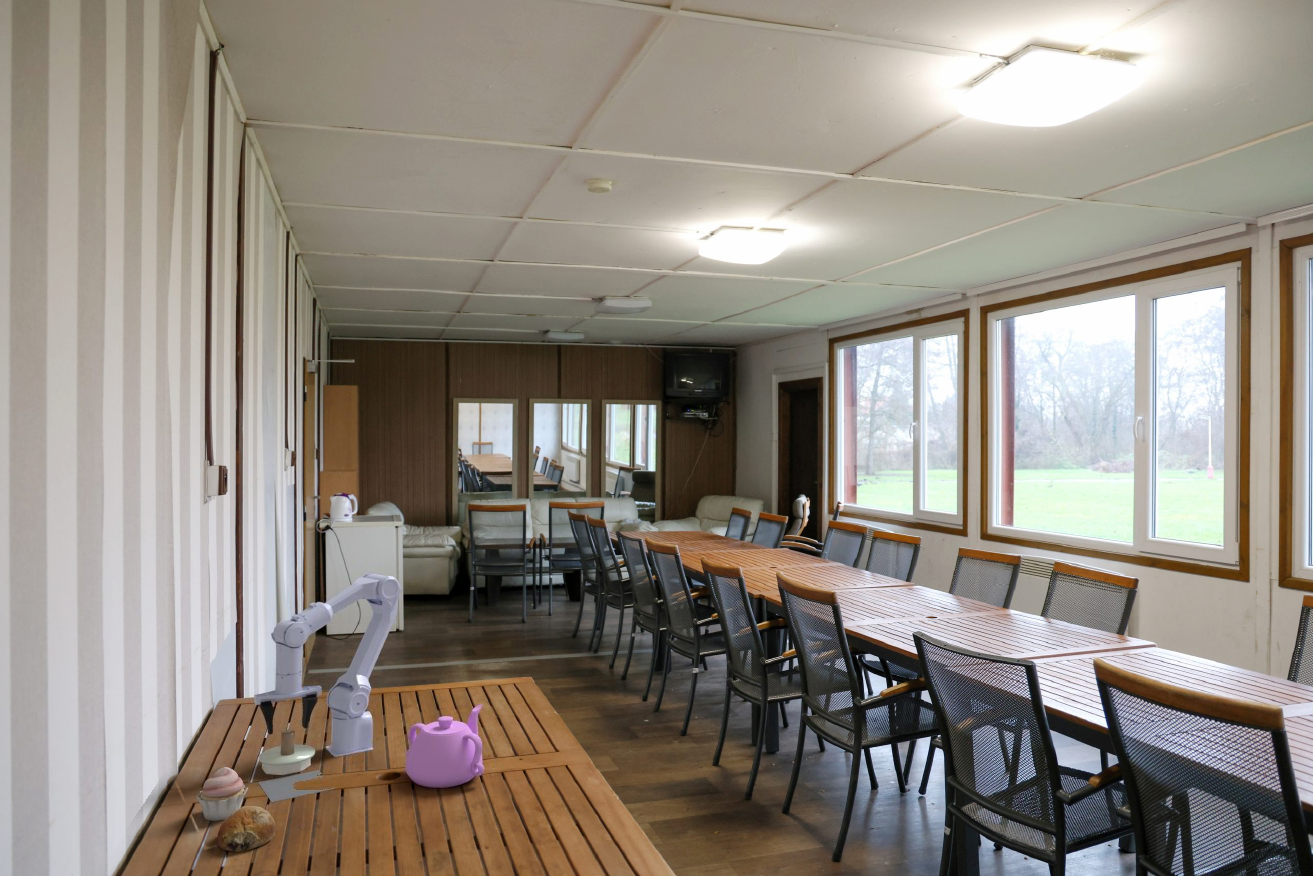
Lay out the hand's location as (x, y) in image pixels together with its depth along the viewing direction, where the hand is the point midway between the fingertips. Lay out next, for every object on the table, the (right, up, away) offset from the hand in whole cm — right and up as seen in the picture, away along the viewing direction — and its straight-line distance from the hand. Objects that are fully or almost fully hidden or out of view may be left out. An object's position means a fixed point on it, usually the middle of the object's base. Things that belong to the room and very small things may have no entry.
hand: (287, 730), depth 199 cm
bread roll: (+8, -9, -37) cm, 39 cm away
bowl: (0, -9, 0) cm, 9 cm away
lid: (0, -6, -1) cm, 6 cm away
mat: (+7, -9, -11) cm, 16 cm away
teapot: (+39, -10, -2) cm, 40 cm away
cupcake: (-2, -9, -26) cm, 28 cm away
